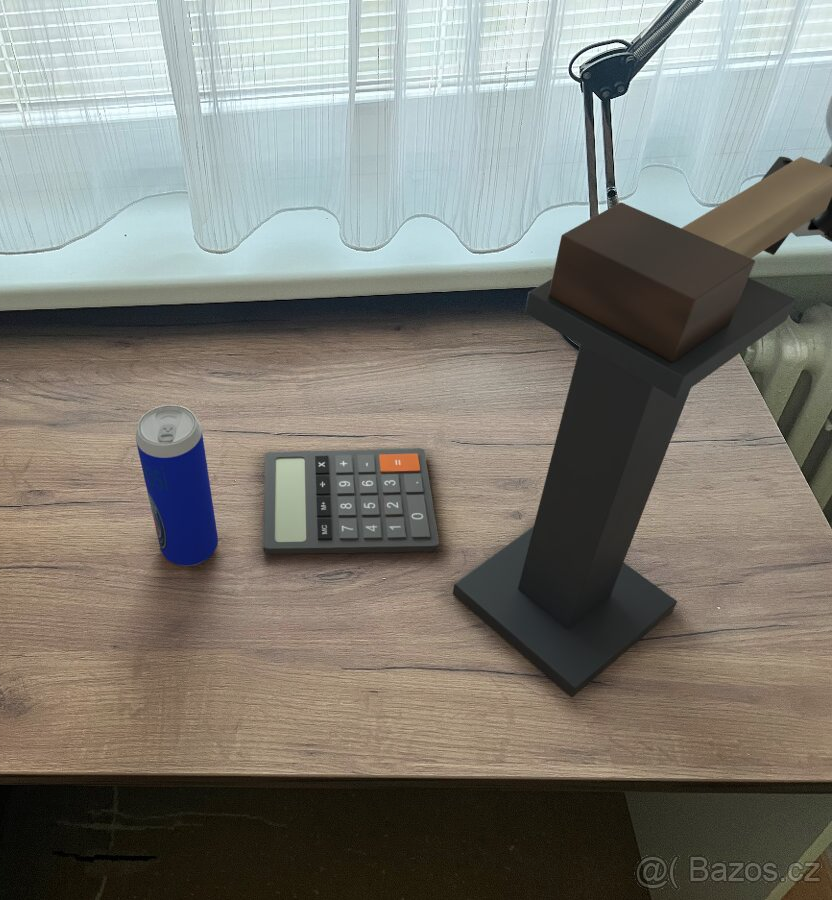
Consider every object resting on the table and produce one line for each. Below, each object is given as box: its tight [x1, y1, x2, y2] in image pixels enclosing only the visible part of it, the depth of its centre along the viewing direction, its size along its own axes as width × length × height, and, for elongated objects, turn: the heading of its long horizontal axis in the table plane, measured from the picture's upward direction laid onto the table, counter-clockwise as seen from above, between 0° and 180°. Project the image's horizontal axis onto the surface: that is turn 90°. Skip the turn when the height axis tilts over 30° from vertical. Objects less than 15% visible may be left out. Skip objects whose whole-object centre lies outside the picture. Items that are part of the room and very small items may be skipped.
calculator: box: [262, 447, 440, 555], centre depth 79 cm, size 12×1×15 cm
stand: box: [452, 277, 796, 699], centre depth 60 cm, size 12×12×30 cm
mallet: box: [549, 156, 832, 363], centre depth 50 cm, size 8×19×4 cm, turn 126°
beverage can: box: [135, 404, 219, 567], centre depth 72 cm, size 5×5×15 cm
